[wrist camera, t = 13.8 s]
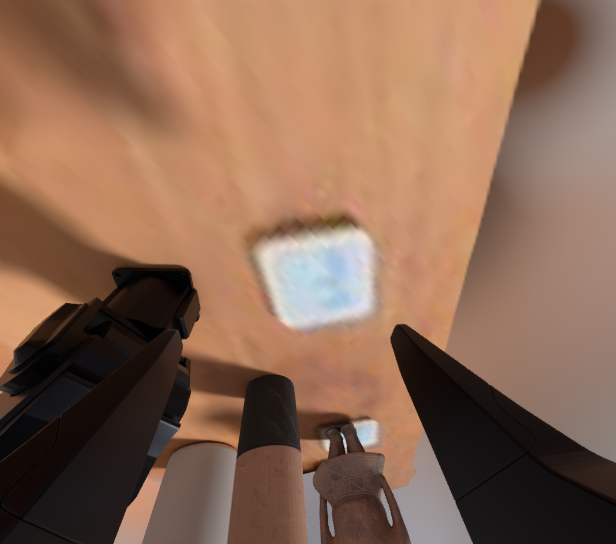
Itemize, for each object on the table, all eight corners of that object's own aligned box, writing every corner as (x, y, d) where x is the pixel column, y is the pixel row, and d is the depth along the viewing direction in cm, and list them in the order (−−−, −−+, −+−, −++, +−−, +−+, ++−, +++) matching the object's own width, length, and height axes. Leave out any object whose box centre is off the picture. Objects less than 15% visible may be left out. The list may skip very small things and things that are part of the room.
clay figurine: (367, 409, 41) (462, 699, 20) (376, 430, 46) (460, 675, 26) (301, 430, 42) (328, 724, 21) (318, 448, 48) (353, 697, 27)
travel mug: (281, 366, 31) (289, 640, 15) (303, 392, 35) (329, 627, 19) (233, 385, 32) (189, 662, 15) (260, 407, 36) (249, 646, 20)
